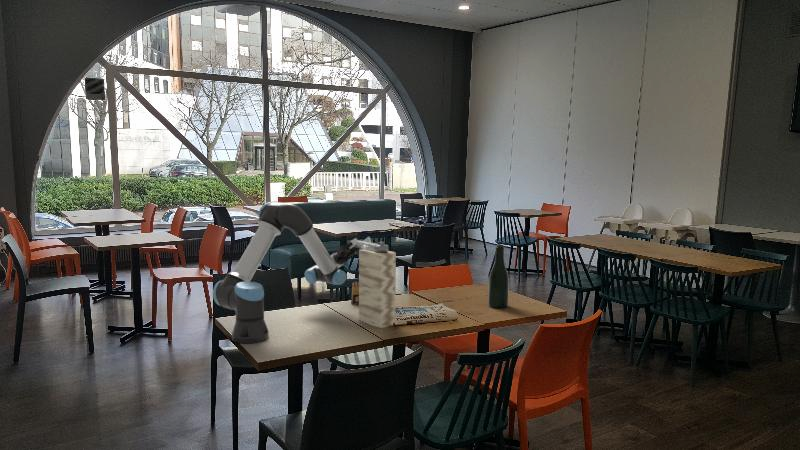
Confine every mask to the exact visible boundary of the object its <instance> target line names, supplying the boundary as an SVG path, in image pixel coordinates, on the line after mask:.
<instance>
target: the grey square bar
mask: <svg viewBox="0 0 800 450" xmlns="http://www.w3.org/2000/svg"><path fill="white" fill-rule="evenodd" d="M352 240H353V239H350V242H351V241H352ZM357 242H358V244H356V245H355V246H354V247H356V248H361V249H365V250H370V251H374V252H375V253H387V252H388V251H389V245H388V244H385V242H384V241H379V242H378V243H375V242H365V241H363V240H360V239H357Z"/></svg>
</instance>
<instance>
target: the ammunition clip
mask: <svg viewBox="0 0 800 450" xmlns="http://www.w3.org/2000/svg"><path fill="white" fill-rule="evenodd" d="M351 285H352V286H351V299H350V304H352V305H359V282H357V281H353V282H352V283H351Z"/></svg>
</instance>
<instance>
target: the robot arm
mask: <svg viewBox="0 0 800 450" xmlns="http://www.w3.org/2000/svg"><path fill="white" fill-rule="evenodd" d="M257 225H258V228H257V230H256V231H255V234H254V235H253V237H252V238H251V240H250V242H249V243H248V245H247V247H246V248H245V250H244V252H243V254H242V255H241V257H240V259H239V260H238V263H237V264H236V265H235V268H234V269H233V271H231V272H228V273H227V274H226V276H225V277H224V279H221V280H219V281H218V282H216V283H215V284H214V287H213V290H212V297H213V300H214V302H215V304H216V305H218V306H220V307H222V308H223V309H229V310H233V311H235V323H234V326H233V330H232V332H231V341H233V342H234V343H237V344H238V343H239V344H255V343H256V344H257V343H261V342H263V341H266V340H268V339H269V338H270V337H269V336H270V334H269V332H270V331H269V329H268V326H267V323H266V321H265V297H264V296H265V291H264V287H263V284H261V283H259V282H255V281H251V280H252V279H253V277H254V275H255V273H256V271H257V270H258V268H259V266H260V264H261V263H262V261H263V259H264V257H265V255H266V254H267V252H268V251H269V249H270V247H271V245H272V243H273V241H274V240H275V238H276V237H278V236H280V235H281V234H282V232H283V231H284V229H288V230H290V231H291V232H292V233H293V234H294V236H295V237H297V238H298V237H299V240H300V242H301V243H302V244H303V246H304V247H305V249H306V250H307V252H308V253H309V254H310V256H311V258H312V259H313V261H314V263H315V265H313V266H311V267H309V268H308V269H306V270H305V271H304V279H305V280H306V282H307V283H309V284H311V285H312V284H315V283H317V282H320V283H327V284H331V285H335V286H336V285H337V286H341V285H343V284H344V283H345V282H346V279H347V274H346V272H345V271H344V270H342V269H341V267H342V266H343V265H344V264H346V263H347V262H348V261H349V260H350V257H352V255H359V250H362V249H361V248H356V247H354V246H355V245H356V244H358V242H357V240H358V239H357V237H355V238H353V239H351V240H352V241H351V240H350V242H348V243H346V244H345V245H344V244H342V245H341V246H340V247H338V249H336V250H334V252H333V253H332V254H331V255H330V253H329V252H328V251H327V249H326V246H325V245H324V243H322V241H321V239H320V237H319V236H318V234H317V232H316V231H315V230H314V224H313V222H312V221H311V218H309V216H308V214H306V212H305V211H304V210H303V209H302V208H301V207H300V206H298V205H297V204H294V203H292V202H282V201H280V202H279V201H276V200H275V201H268V202H265V203H264V204H262V206H261V207H260V209H259V211H258V221H257ZM362 241H365V242H370V243H372V240H371V237H370V236H367V237H366V238H365V239H363V240H362ZM339 268H340V269H339Z"/></svg>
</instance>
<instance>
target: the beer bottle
mask: <svg viewBox="0 0 800 450" xmlns="http://www.w3.org/2000/svg"><path fill="white" fill-rule="evenodd" d="M494 257H495V258H494V263H493V266H492V269H491V270H490V274H489V279H488V297H487V300H488V301H487V305H488V307H490V308H493V309H507V308H508V307H509V296H510V295H509V291H510V290H509V288H510V286H509V285H510V284H509V281H510V279H509V278H510V277H509V272H508V270H507V268H506V267H507V266H506V263H505V247H504V244H502V243H499V244H496V247H495V256H494Z"/></svg>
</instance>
